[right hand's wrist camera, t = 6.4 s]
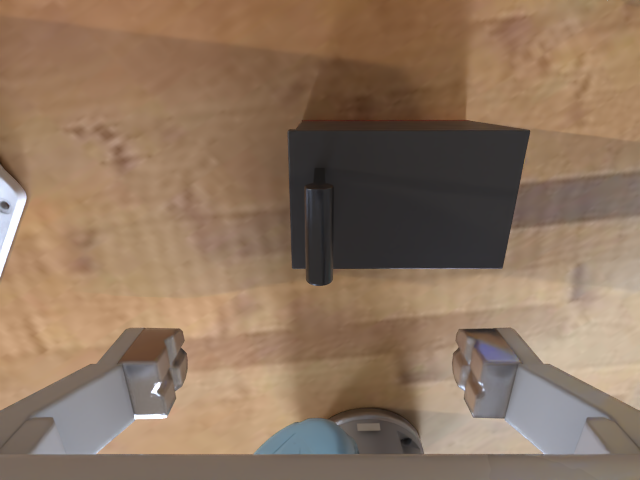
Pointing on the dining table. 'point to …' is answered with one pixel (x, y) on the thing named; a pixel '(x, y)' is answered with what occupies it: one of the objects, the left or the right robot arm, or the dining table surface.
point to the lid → (402, 198)
